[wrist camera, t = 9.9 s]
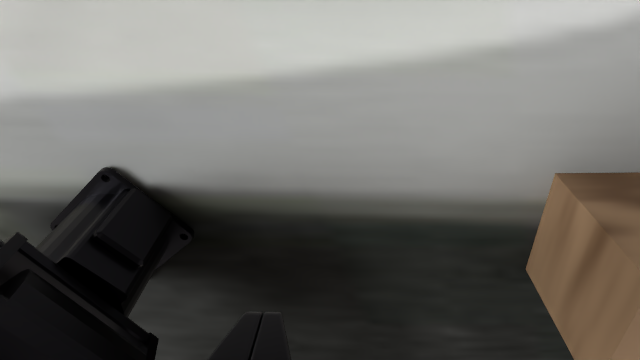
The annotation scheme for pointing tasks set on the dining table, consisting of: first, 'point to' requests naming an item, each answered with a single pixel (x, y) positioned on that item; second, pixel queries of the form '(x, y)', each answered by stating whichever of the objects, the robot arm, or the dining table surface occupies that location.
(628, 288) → the walnut block
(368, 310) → the dining table surface
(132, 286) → the robot arm
